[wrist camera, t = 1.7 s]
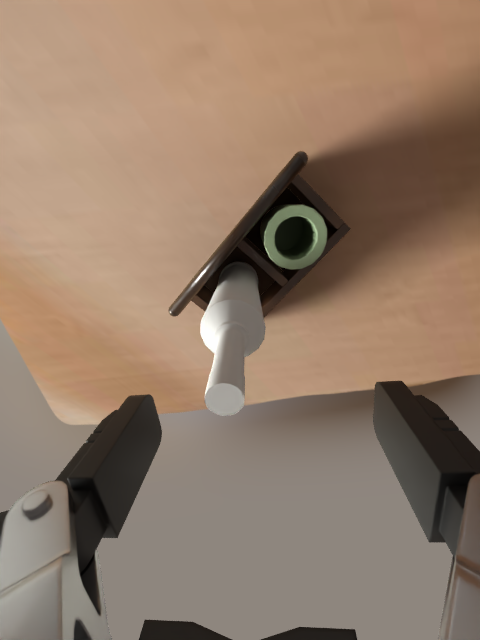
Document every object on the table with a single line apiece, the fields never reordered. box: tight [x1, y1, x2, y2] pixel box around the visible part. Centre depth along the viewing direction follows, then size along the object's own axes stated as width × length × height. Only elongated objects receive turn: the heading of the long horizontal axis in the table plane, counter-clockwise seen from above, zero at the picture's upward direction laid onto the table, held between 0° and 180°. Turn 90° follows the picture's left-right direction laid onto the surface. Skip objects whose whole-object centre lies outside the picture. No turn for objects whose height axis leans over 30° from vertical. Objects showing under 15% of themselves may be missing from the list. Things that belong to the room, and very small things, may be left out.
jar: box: [260, 204, 327, 270], centre depth 30 cm, size 6×6×10 cm
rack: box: [169, 151, 350, 317], centre depth 31 cm, size 10×19×11 cm, turn 139°
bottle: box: [201, 261, 266, 416], centre depth 26 cm, size 5×5×25 cm
